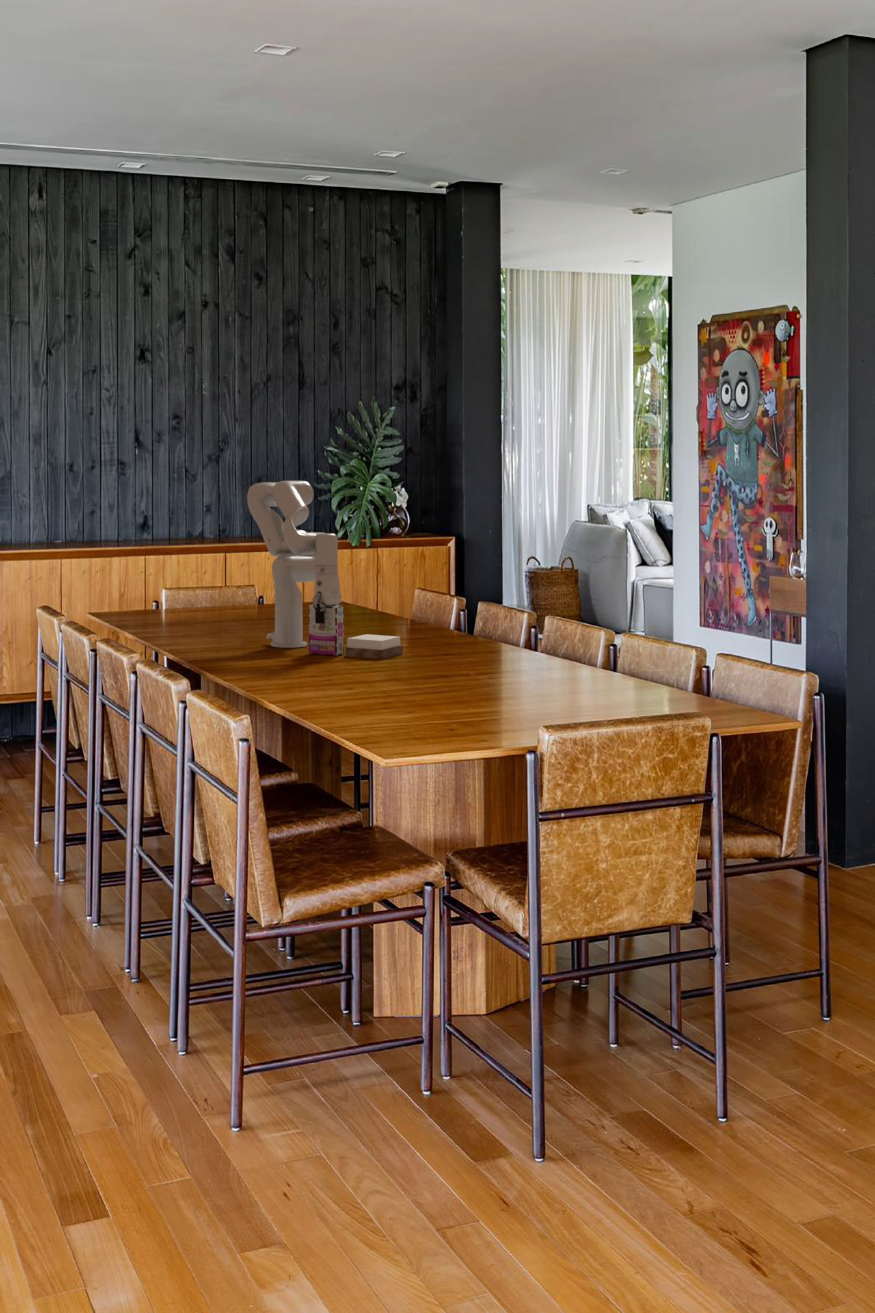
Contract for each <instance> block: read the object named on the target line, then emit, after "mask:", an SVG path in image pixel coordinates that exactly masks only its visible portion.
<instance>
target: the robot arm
mask: <svg viewBox="0 0 875 1313" xmlns="http://www.w3.org/2000/svg"><path fill="white" fill-rule="evenodd" d="M246 499H247V506H248V510H249V512H250V514H251V516H252V518H253V519H254V521H255V522H256V524H257V526H258V528H259V530H260V533H261V535H262V538H263V541H264V543H265V546H266V548H267V550H268V552H269V554H270V555H271V556H273V557H276V558H275V559H274V560H273V561H272V563H271V572H272V573H271V574H272V579H273V584H274V620H275V621H274V632H271V633H267V634H266V637H265V638H266V639H267V640H272V641H271V642H270V646H271V647H273V648H281V649H283V648H284V649H286V648H287V649H292V648H293V649H297V648H304V647H305V648H306V647H307V646H308V642H307V641H303V634H304V633H303V628H304V627H303V594H302V591H301V589H300V587H299V586H298V585H297V583H310V582H311V583H313V582H315V583H314V597H313V598H312V600H311V601H312V605H313V606H314V608H315V609H314V611H315V623H320V624H323V623H325V616H324V611H323V610H324V607H325V605H333V606H341V600H342V594H341V591H342V590H341V582H340V576H339V559H338V556H339V554H338V551H339V550H338V549H339V548H338V546H339V545H338V543H339V542H338V541H339V540H338V535H337V534H335V533H326V532H306V531H305V530H303V529H297V528H296V527H298V526H301V525H302V524H303V523H305V521H307V519H308V518H309V515H310V509H309V507H308V506H307V505H310V504H311V503H312V502H313V499H314V489H313V487H312V485H311V484H310V483H309V482H308V481H305V480H281V481H278V482H277V481H276V482H275V481H274V482H273V481H272V482H271V481H270V482H268V481H265V482H258V483H254V484H253V485H251V486H250V487H249V488H248V491H247V496H246ZM271 507H277V508H278V509H279V511H280V512H281V514H282V515H283V517H284V519H285V520H284V521H283V519H282V517H281V515H279V514H278V513H277V511H275V510H274V509H272V508H271ZM320 606H321V607H320Z"/></svg>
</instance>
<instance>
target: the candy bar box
mask: <svg viewBox="0 0 875 1313" xmlns="http://www.w3.org/2000/svg"><path fill="white" fill-rule="evenodd" d="M313 605H314V604H311V605H308V654H310V655H320V656H321V655H322V656H332V657H335V656H336V657H337V656H342V655H344V653H345V648H344V647H345V643H344V642H345V641H344V640H345V639H344V638H345V636H344V635H345V632H344V628H345V627H344V621H345V620H344V619H345V618H344V617H345V616H344V607H345V606H344V605H340V606H333V605H325V607H324V610H323V611H324V616H325V623H323V624H320V623H315V611H314V609H315V608H314V606H313ZM320 607H321V606H320Z"/></svg>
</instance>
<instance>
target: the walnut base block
mask: <svg viewBox="0 0 875 1313" xmlns="http://www.w3.org/2000/svg"><path fill="white" fill-rule="evenodd" d="M403 646H404V645H401V644H400V646H396V647H392V648H388V649H384V650H376V649H363V648H349V647H347V646H346V647H345V657H351V658H353V657H354V658H365V659H377V660H378V659H380V660H385V659H389V658H393V657H397V656H400V655H403V652H404V650H403V649H404V647H403Z"/></svg>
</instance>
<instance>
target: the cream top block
mask: <svg viewBox="0 0 875 1313" xmlns="http://www.w3.org/2000/svg"><path fill="white" fill-rule="evenodd" d="M346 643H347V644H346V647H349V648H363V649H376V650H384V649H388V648H392V647H396V646H400V645H401V636H397V635H395V636H394V635H380V634H368V633H367V634H361V635H357V636H353V637H348V638H347V639H346Z"/></svg>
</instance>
